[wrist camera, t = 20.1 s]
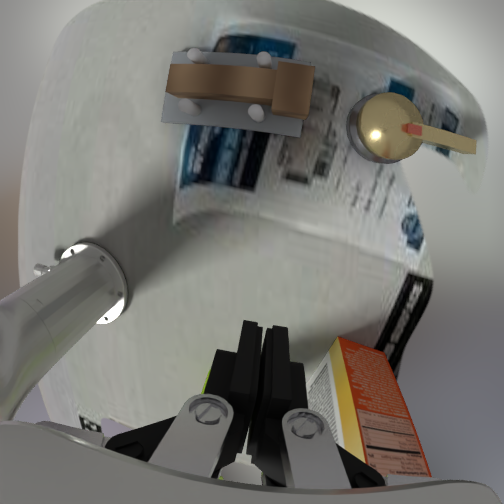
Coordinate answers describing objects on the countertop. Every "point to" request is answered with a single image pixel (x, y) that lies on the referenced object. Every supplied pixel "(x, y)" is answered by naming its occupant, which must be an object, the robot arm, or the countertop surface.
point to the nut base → (355, 138)
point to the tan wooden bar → (246, 85)
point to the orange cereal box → (366, 409)
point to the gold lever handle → (402, 129)
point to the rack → (229, 111)
